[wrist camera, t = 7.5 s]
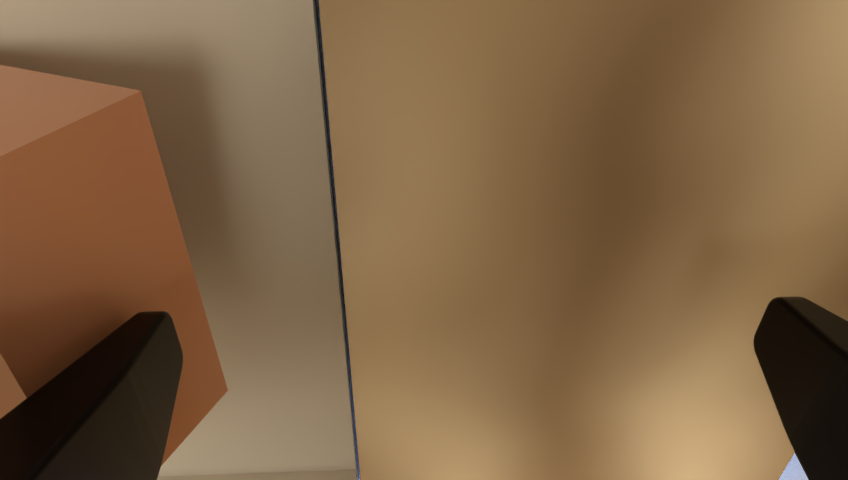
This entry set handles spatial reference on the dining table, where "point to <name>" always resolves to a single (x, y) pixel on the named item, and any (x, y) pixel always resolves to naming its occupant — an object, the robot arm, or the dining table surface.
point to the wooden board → (581, 228)
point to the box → (232, 207)
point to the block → (90, 239)
